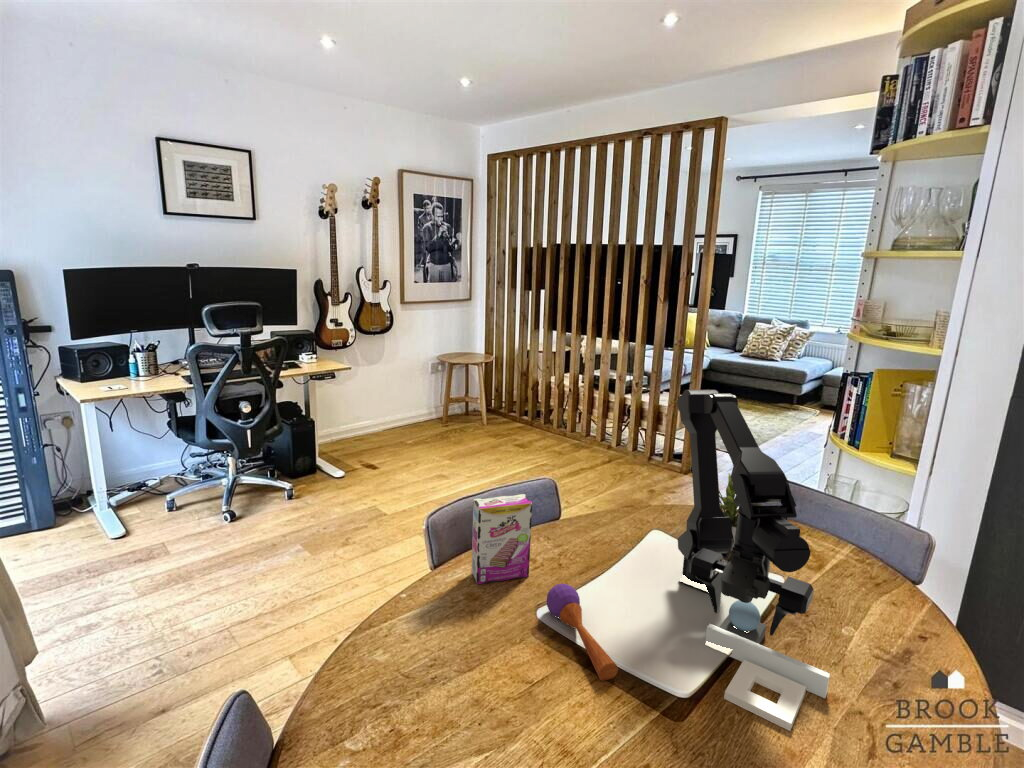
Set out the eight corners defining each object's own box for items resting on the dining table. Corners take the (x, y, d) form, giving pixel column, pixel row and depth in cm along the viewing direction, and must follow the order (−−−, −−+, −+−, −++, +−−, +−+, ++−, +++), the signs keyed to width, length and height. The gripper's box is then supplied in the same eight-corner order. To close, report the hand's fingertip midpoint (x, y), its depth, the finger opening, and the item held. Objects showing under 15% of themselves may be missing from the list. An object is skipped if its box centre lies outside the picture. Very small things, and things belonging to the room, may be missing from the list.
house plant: (687, 526, 137) (693, 463, 133) (746, 531, 135) (753, 467, 131) (698, 555, 123) (705, 485, 119) (763, 561, 121) (772, 490, 118)
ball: (723, 629, 95) (726, 603, 94) (732, 615, 99) (735, 590, 98) (753, 642, 92) (757, 615, 91) (762, 627, 96) (765, 601, 95)
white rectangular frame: (724, 698, 82) (724, 691, 81) (743, 666, 88) (744, 659, 88) (790, 731, 76) (791, 723, 76) (805, 693, 83) (806, 686, 83)
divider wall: (705, 645, 93) (706, 626, 92) (707, 641, 94) (709, 623, 93) (825, 698, 82) (828, 678, 81) (826, 693, 83) (830, 673, 82)
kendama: (589, 664, 83) (539, 583, 101) (592, 694, 85) (543, 609, 103) (624, 650, 84) (569, 572, 102) (626, 679, 86) (572, 598, 104)
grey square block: (718, 637, 95) (719, 627, 95) (730, 620, 100) (731, 610, 99) (754, 652, 92) (756, 642, 91) (765, 635, 96) (766, 624, 96)
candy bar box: (477, 586, 109) (478, 508, 105) (471, 573, 113) (471, 498, 110) (530, 577, 112) (533, 502, 109) (522, 565, 117) (524, 492, 114)
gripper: (680, 539, 92) (672, 622, 95) (804, 580, 80) (790, 674, 83) (704, 516, 100) (696, 594, 103) (820, 551, 89) (807, 637, 92)
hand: (743, 623), depth 95 cm, fingers open, 9 cm apart
